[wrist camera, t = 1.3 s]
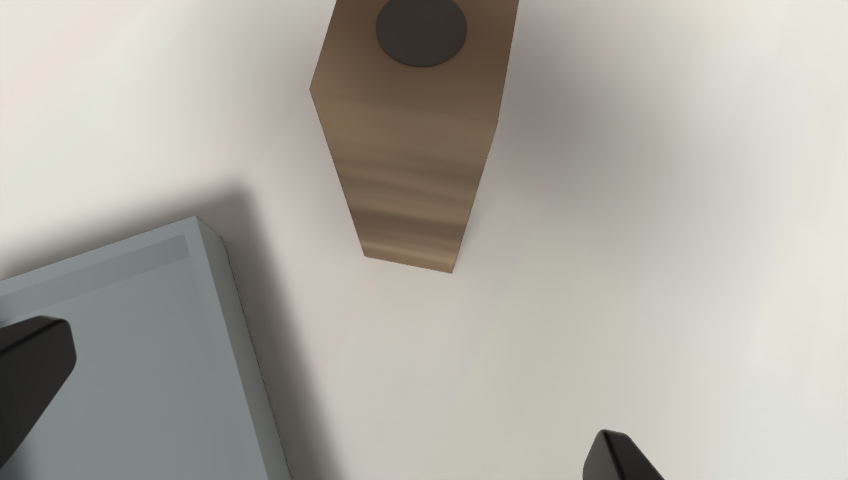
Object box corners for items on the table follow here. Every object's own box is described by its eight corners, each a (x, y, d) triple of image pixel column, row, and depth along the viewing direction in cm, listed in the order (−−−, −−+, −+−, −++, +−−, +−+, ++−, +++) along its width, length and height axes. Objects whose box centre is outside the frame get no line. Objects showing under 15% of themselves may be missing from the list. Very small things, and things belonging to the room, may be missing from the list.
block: (451, 273, 23) (497, 122, 11) (364, 256, 23) (309, 87, 11) (466, 192, 24) (523, -29, 12) (384, 176, 24) (353, -59, 12)
